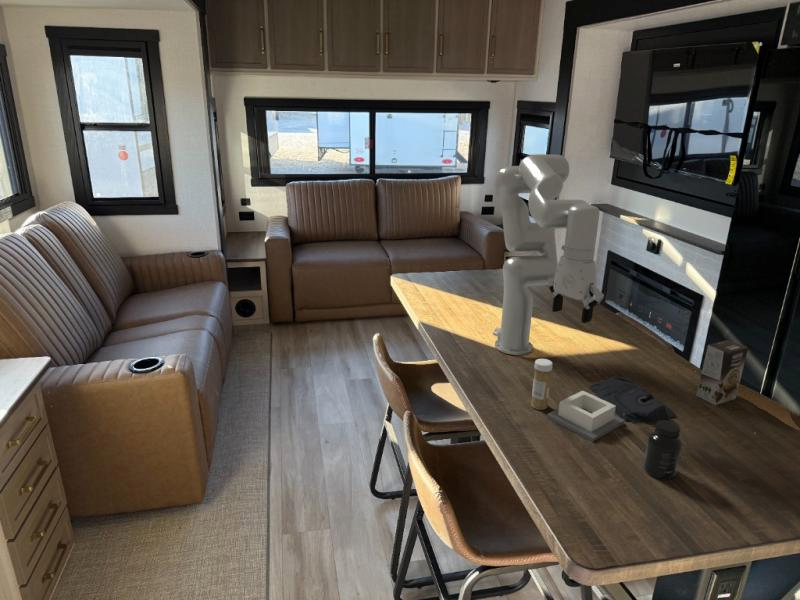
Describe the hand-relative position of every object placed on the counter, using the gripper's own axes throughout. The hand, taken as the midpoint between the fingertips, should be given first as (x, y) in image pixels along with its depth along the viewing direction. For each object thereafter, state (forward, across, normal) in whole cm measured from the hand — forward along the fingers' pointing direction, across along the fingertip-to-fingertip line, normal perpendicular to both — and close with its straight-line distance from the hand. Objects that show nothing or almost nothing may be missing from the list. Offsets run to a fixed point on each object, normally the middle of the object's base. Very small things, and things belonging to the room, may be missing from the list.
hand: (571, 316), depth 151 cm
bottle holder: (+25, +11, -3) cm, 27 cm away
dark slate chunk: (+26, +11, +15) cm, 32 cm away
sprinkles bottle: (+25, -1, -8) cm, 26 cm away
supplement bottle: (+26, +34, -7) cm, 43 cm away
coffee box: (+25, +23, +39) cm, 52 cm away
